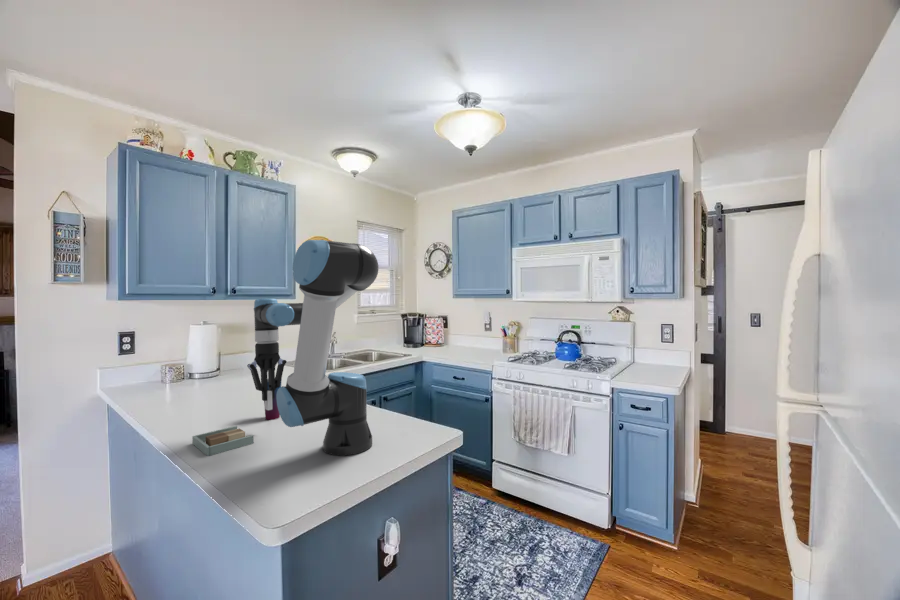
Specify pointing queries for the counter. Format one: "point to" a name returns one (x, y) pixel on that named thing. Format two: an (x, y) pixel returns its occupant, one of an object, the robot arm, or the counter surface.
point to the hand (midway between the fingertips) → (268, 409)
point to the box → (210, 450)
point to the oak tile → (235, 434)
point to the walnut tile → (216, 439)
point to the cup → (274, 412)
